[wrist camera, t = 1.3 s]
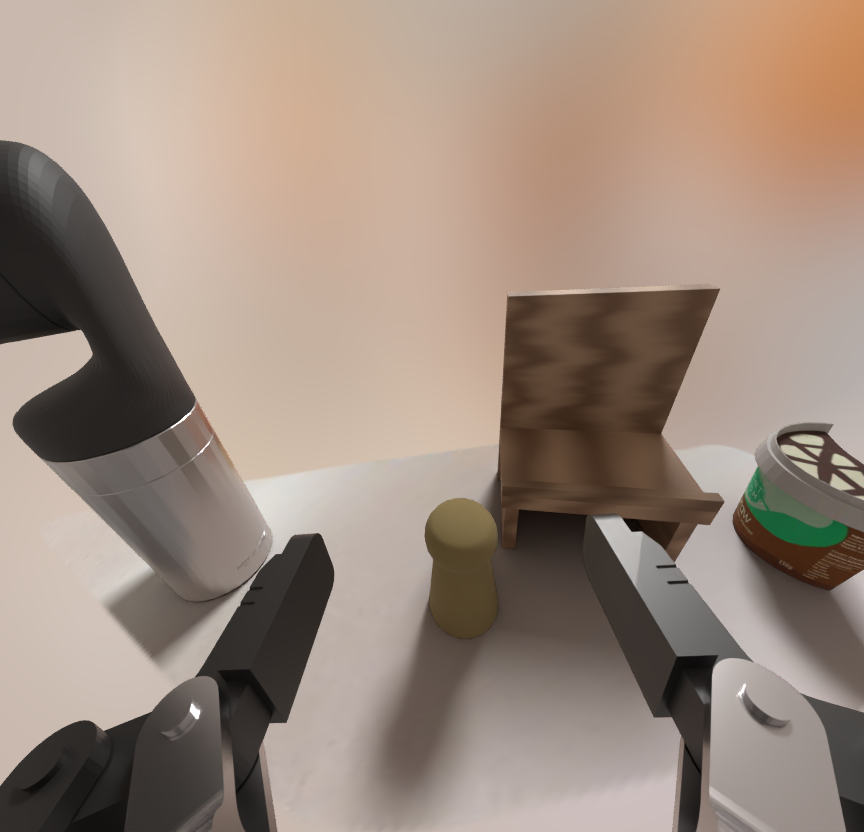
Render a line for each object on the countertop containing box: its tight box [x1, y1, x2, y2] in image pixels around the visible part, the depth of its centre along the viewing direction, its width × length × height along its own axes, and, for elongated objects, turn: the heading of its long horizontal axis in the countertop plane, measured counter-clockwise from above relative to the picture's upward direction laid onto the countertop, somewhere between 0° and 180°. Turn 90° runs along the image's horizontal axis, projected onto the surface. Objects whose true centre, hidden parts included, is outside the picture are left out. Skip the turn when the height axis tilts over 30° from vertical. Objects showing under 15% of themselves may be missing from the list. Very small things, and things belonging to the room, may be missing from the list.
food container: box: [733, 422, 864, 591], centre depth 28 cm, size 12×6×10 cm, turn 157°
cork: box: [425, 498, 498, 639], centre depth 24 cm, size 6×6×11 cm
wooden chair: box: [498, 284, 725, 562], centre depth 28 cm, size 16×12×22 cm
